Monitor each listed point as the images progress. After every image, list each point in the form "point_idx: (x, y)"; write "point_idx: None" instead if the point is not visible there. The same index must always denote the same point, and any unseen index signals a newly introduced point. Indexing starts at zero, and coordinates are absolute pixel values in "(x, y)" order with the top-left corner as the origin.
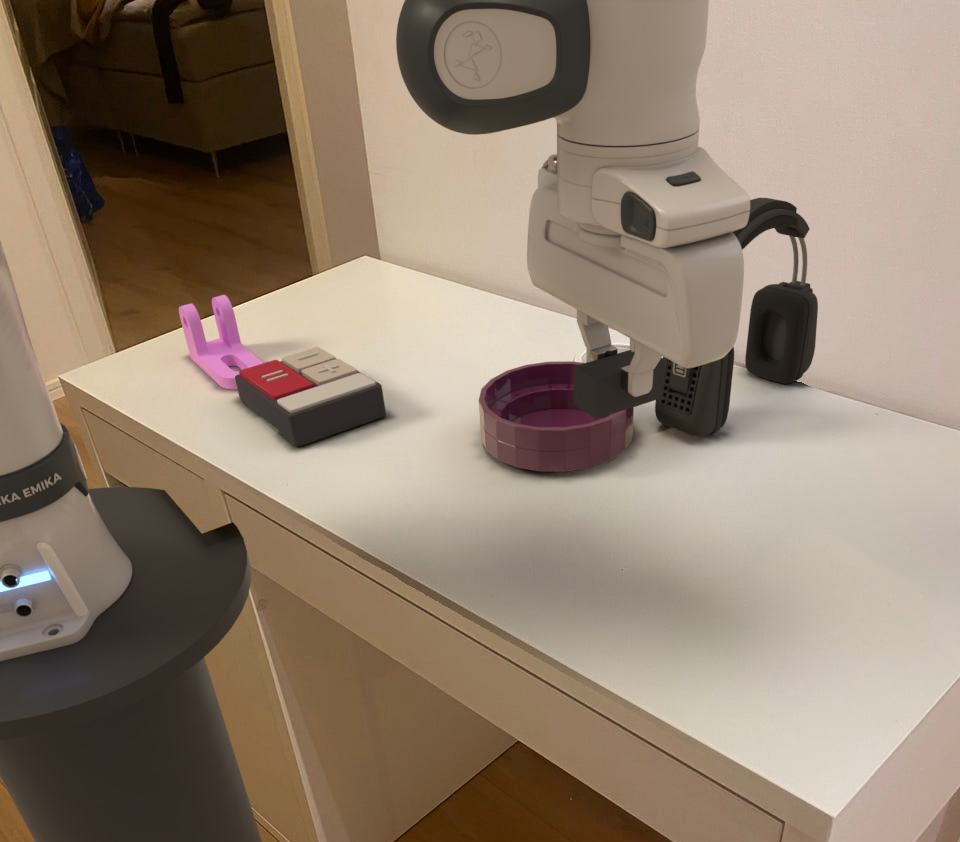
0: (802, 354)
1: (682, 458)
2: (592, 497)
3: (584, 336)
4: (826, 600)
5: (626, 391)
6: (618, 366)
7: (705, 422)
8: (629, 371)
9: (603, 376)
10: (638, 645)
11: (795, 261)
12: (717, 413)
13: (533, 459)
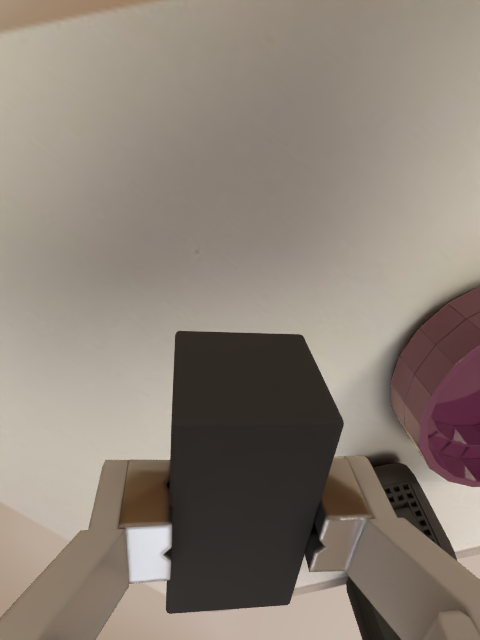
0: (355, 611)
1: None
2: (353, 322)
3: (428, 555)
4: (7, 393)
5: (140, 460)
6: (222, 521)
7: None
8: (110, 533)
9: (185, 456)
10: (29, 154)
11: None
12: None
13: (466, 306)
